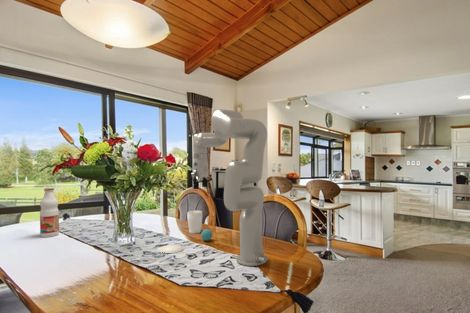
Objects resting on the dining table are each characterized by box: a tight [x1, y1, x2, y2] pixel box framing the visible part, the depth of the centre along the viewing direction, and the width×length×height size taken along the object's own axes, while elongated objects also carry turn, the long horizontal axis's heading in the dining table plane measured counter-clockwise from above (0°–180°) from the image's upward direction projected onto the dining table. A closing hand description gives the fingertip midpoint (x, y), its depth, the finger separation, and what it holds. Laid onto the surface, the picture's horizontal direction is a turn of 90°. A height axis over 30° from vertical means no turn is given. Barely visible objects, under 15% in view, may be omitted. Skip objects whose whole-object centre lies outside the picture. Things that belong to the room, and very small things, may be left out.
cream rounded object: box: [156, 244, 185, 254], centre depth 139 cm, size 13×13×1 cm
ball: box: [200, 228, 213, 242], centre depth 152 cm, size 6×6×6 cm
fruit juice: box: [39, 187, 60, 238], centre depth 170 cm, size 9×9×28 cm
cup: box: [186, 210, 203, 234], centre depth 171 cm, size 9×9×12 cm
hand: (200, 187), depth 157 cm, fingers open, 9 cm apart
